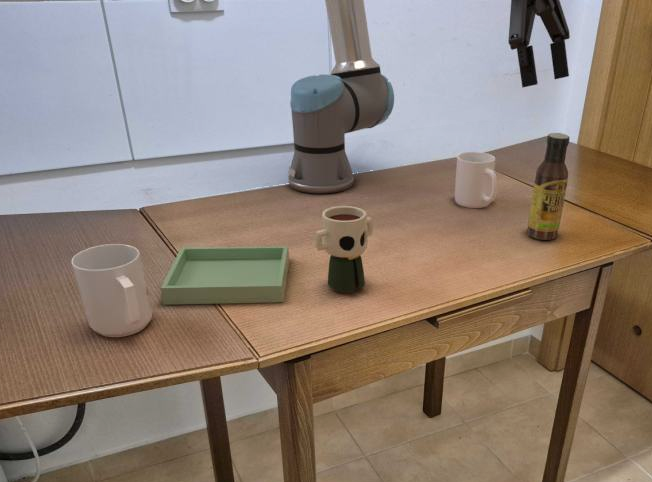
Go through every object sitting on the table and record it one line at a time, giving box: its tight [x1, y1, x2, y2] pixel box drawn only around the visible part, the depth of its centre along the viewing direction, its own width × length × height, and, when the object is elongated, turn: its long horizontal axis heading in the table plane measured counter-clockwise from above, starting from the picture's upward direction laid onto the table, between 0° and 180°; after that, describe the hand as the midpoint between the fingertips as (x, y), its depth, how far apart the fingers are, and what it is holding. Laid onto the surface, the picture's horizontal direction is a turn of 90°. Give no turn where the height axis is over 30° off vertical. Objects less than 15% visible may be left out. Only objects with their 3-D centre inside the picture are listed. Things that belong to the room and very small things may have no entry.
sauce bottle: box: [526, 132, 571, 241], centre depth 124 cm, size 6×6×20 cm
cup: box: [454, 151, 498, 209], centre depth 141 cm, size 8×12×10 cm
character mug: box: [314, 205, 373, 293], centre depth 105 cm, size 11×7×13 cm, turn 130°
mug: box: [70, 243, 153, 338], centre depth 92 cm, size 12×9×11 cm
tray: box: [160, 245, 290, 306], centre depth 108 cm, size 16×19×3 cm
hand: (546, 82), depth 121 cm, fingers open, 13 cm apart
